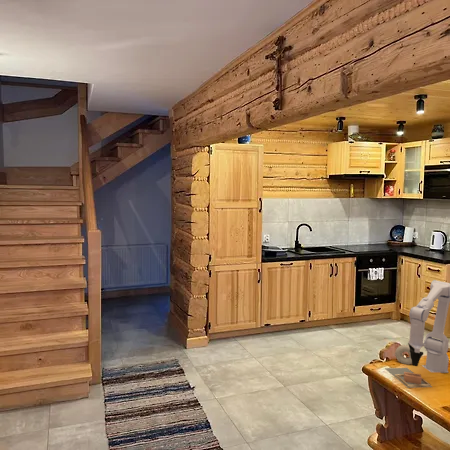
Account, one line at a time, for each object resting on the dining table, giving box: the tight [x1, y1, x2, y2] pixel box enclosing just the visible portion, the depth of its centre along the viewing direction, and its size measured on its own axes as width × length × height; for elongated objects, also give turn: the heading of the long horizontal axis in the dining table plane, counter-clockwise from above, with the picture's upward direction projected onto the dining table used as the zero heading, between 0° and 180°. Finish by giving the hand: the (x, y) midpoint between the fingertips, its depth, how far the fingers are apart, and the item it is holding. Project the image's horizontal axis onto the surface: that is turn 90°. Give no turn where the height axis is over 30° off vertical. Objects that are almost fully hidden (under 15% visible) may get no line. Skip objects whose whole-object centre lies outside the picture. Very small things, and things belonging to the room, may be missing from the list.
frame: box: [394, 374, 432, 388], centre depth 199 cm, size 11×11×1 cm
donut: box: [395, 344, 412, 366], centre depth 219 cm, size 10×4×10 cm, turn 66°
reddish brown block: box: [404, 372, 423, 384], centre depth 199 cm, size 7×4×3 cm, turn 72°
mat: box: [384, 367, 433, 389], centre depth 203 cm, size 12×20×1 cm, turn 9°
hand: (414, 362), depth 198 cm, fingers open, 7 cm apart
